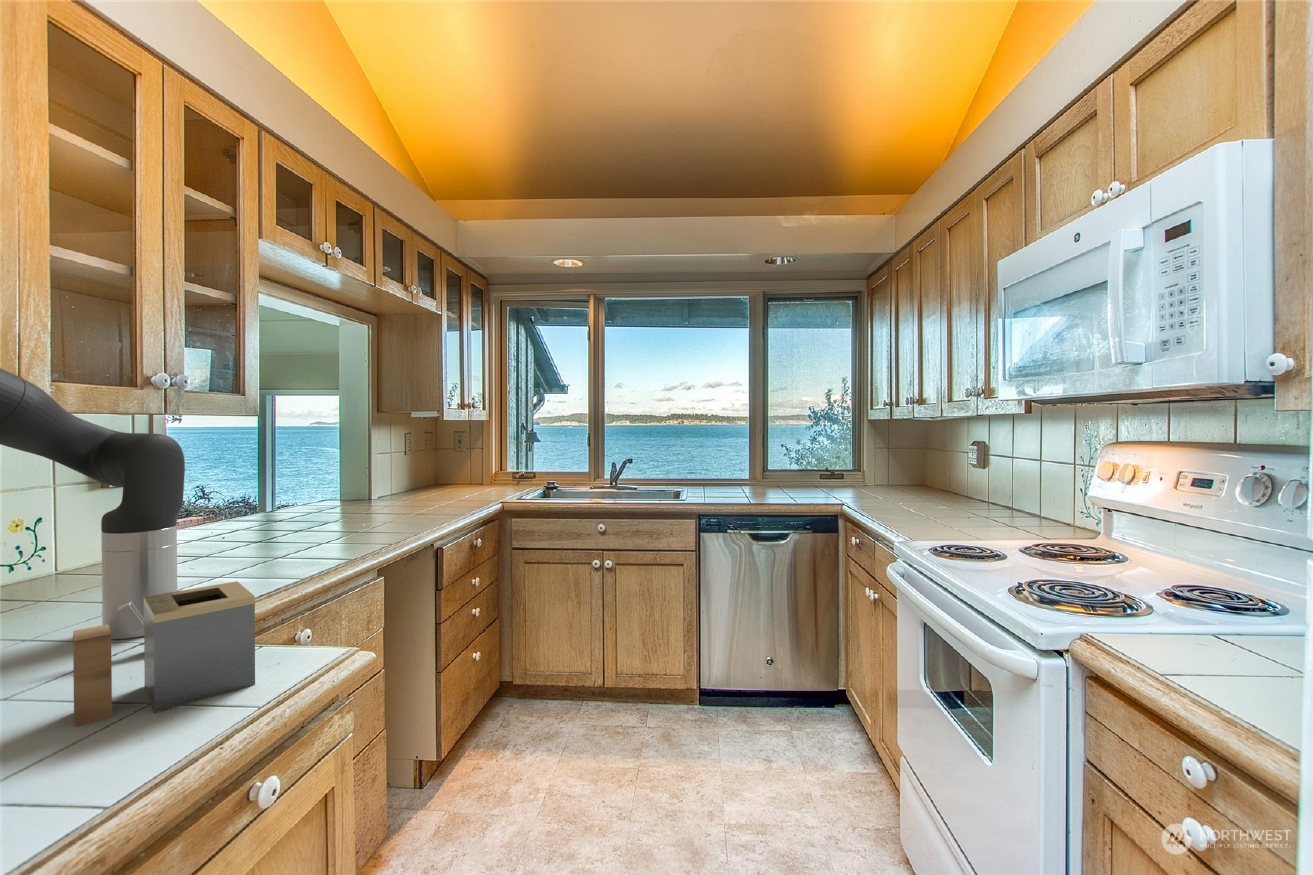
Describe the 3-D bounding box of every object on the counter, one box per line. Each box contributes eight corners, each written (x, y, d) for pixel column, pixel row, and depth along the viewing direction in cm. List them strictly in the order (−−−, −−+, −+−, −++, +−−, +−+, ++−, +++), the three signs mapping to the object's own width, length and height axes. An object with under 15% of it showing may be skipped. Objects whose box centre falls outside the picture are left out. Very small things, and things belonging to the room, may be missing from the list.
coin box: (144, 685, 72) (143, 596, 72) (237, 662, 80) (237, 581, 79) (154, 713, 66) (153, 615, 65) (255, 684, 73) (254, 596, 73)
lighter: (182, 644, 86) (182, 594, 86) (181, 648, 84) (181, 597, 84) (120, 655, 82) (119, 602, 81) (117, 659, 80) (117, 605, 80)
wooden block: (73, 712, 66) (72, 630, 65) (109, 703, 68) (108, 624, 68) (75, 726, 63) (74, 640, 62) (112, 716, 65) (111, 633, 65)
